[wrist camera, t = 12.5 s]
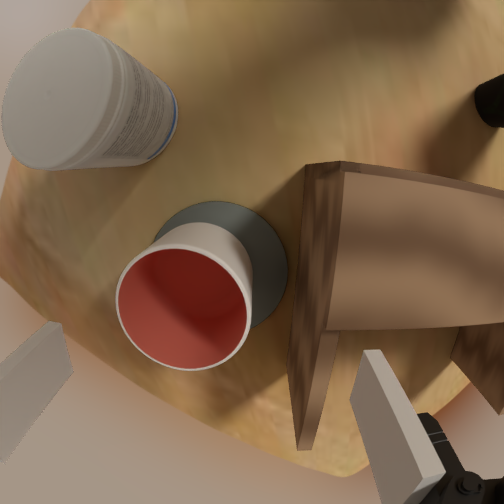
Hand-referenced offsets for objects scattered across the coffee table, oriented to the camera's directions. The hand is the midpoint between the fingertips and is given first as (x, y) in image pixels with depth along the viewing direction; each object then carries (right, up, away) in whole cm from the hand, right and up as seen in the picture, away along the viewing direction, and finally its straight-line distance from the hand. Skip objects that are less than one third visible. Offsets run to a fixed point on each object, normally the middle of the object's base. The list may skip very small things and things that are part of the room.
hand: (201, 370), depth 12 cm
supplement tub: (-10, +18, +16) cm, 26 cm away
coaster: (-1, +3, +20) cm, 20 cm away
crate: (+19, +2, +20) cm, 27 cm away
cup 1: (-3, +3, +19) cm, 20 cm away
